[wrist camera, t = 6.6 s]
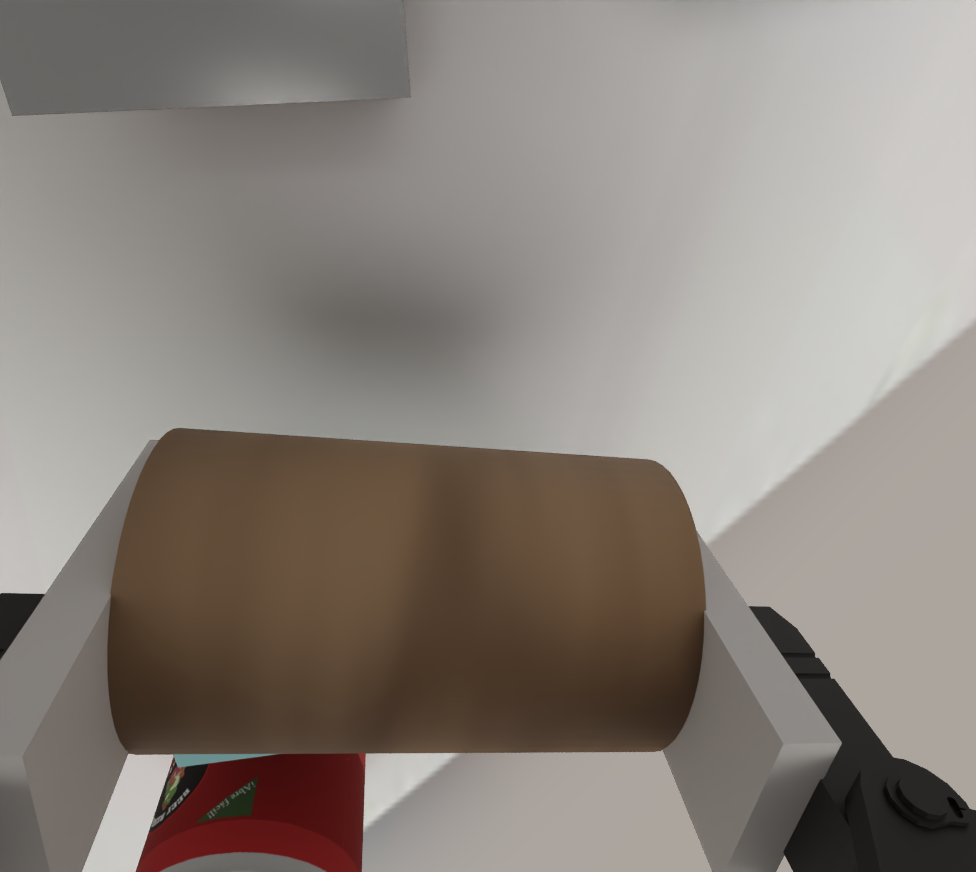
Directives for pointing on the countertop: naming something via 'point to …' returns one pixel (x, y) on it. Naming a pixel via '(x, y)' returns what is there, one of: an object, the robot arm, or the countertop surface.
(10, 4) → the slab
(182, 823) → the canned food
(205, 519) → the cylinder
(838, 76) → the countertop surface
